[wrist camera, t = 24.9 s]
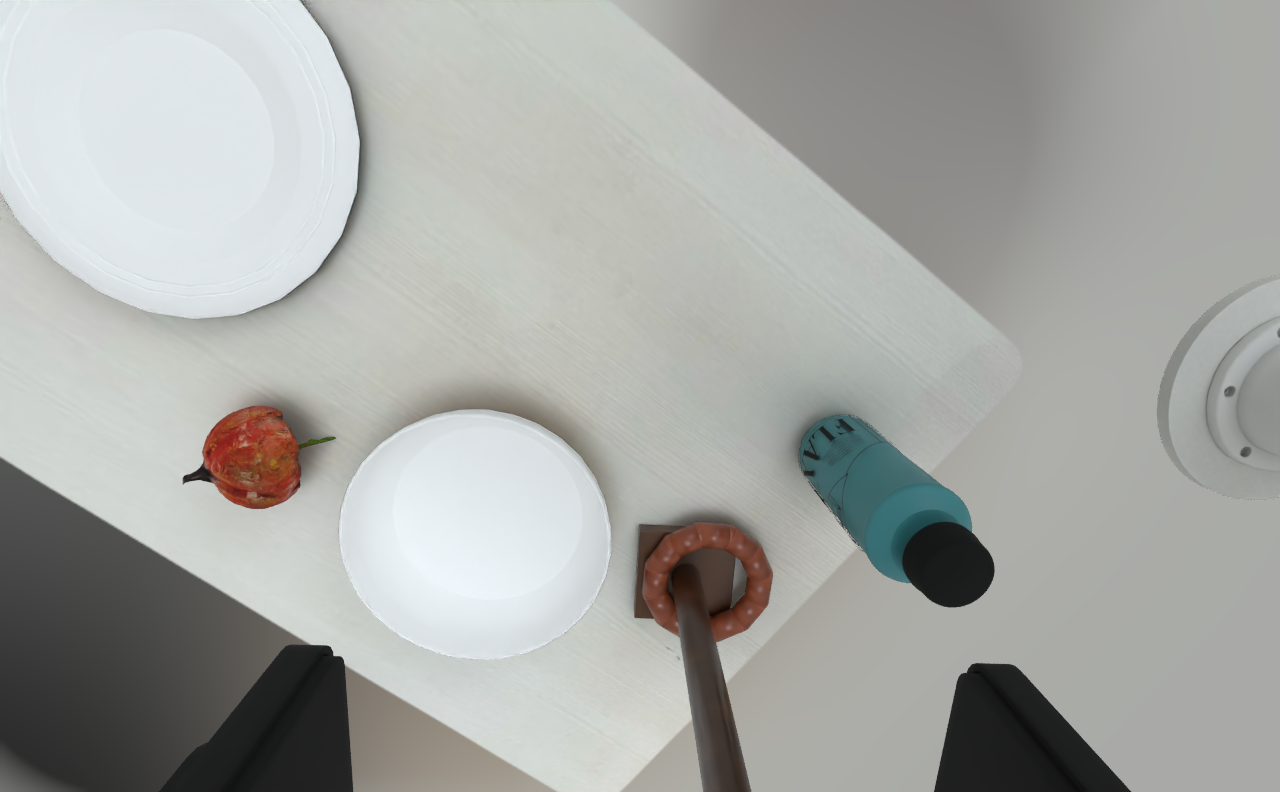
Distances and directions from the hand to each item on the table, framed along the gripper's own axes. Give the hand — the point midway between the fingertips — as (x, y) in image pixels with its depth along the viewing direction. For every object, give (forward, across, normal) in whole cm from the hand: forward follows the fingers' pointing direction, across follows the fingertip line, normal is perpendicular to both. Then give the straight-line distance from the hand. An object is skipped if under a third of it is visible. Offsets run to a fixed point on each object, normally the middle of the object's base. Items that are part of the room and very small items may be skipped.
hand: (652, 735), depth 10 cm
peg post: (+40, -6, +20) cm, 45 cm away
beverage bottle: (+40, -17, +8) cm, 45 cm away
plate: (+40, +31, -12) cm, 52 cm away
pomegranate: (+40, +26, +10) cm, 49 cm away
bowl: (+40, +10, +15) cm, 44 cm away
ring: (+38, -8, +20) cm, 44 cm away
